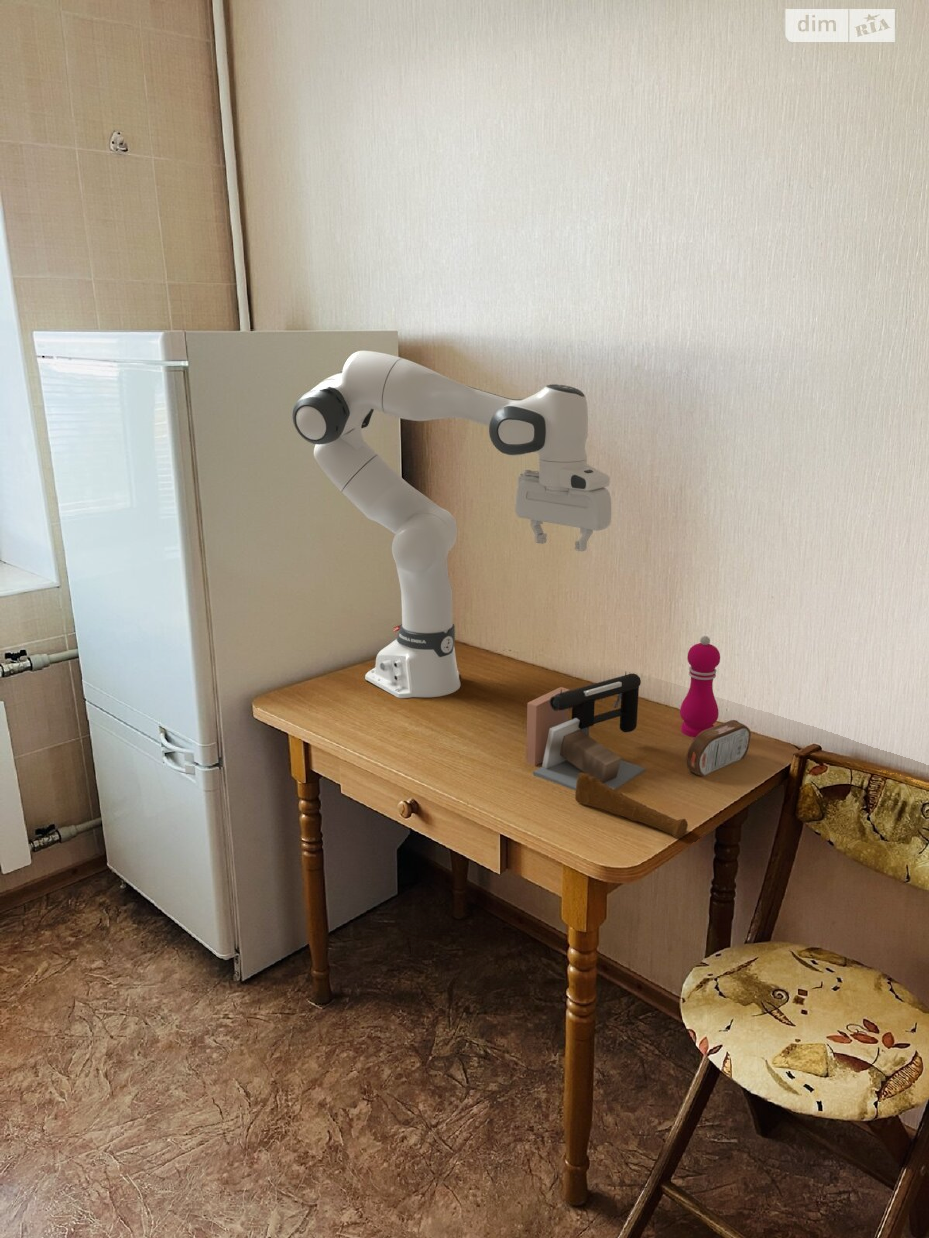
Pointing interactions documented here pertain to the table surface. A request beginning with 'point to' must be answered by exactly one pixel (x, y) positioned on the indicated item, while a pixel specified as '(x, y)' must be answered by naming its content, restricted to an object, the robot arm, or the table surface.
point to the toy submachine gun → (587, 695)
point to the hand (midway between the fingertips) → (560, 546)
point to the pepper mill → (700, 689)
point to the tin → (718, 747)
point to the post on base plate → (580, 752)
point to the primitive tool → (624, 806)
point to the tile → (542, 725)
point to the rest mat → (569, 773)
